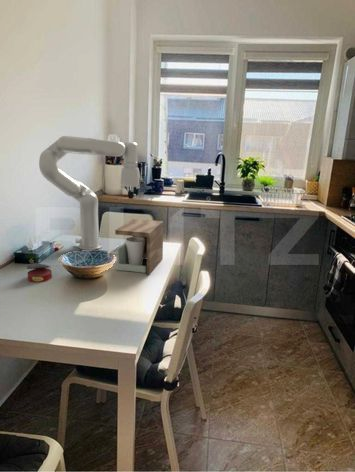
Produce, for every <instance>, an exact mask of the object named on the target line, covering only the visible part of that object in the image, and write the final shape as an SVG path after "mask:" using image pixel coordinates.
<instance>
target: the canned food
mask: <svg viewBox="0 0 355 472" xmlns="http://www.w3.org/2000/svg"><path fill="white" fill-rule="evenodd" d="M50 268H51V266H50V265H48V264H44V263H43V264H42V263H37V262H33V263H29V264H27V266H26V269H27V270H29V271H28V272H27V280H28V281H29V282H31V283H44V282H48V281H50V280H51V279H52V278H53V272H52V270H51V269H50Z"/></svg>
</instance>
